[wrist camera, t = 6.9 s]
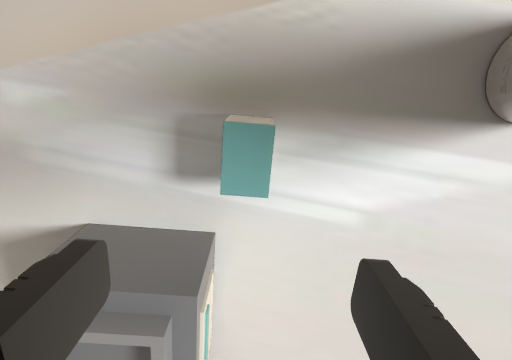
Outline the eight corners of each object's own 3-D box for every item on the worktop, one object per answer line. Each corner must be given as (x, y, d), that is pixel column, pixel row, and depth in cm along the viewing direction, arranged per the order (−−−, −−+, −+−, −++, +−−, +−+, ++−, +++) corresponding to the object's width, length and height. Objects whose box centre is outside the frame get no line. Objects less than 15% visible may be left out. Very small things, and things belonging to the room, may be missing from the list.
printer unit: (219, 233, 31) (198, 317, 20) (214, 342, 36) (195, 459, 25) (85, 223, 31) (-16, 304, 19) (99, 335, 36) (26, 451, 24)
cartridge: (271, 117, 27) (275, 126, 21) (265, 176, 29) (268, 198, 23) (230, 114, 27) (223, 121, 21) (227, 173, 29) (220, 194, 23)
